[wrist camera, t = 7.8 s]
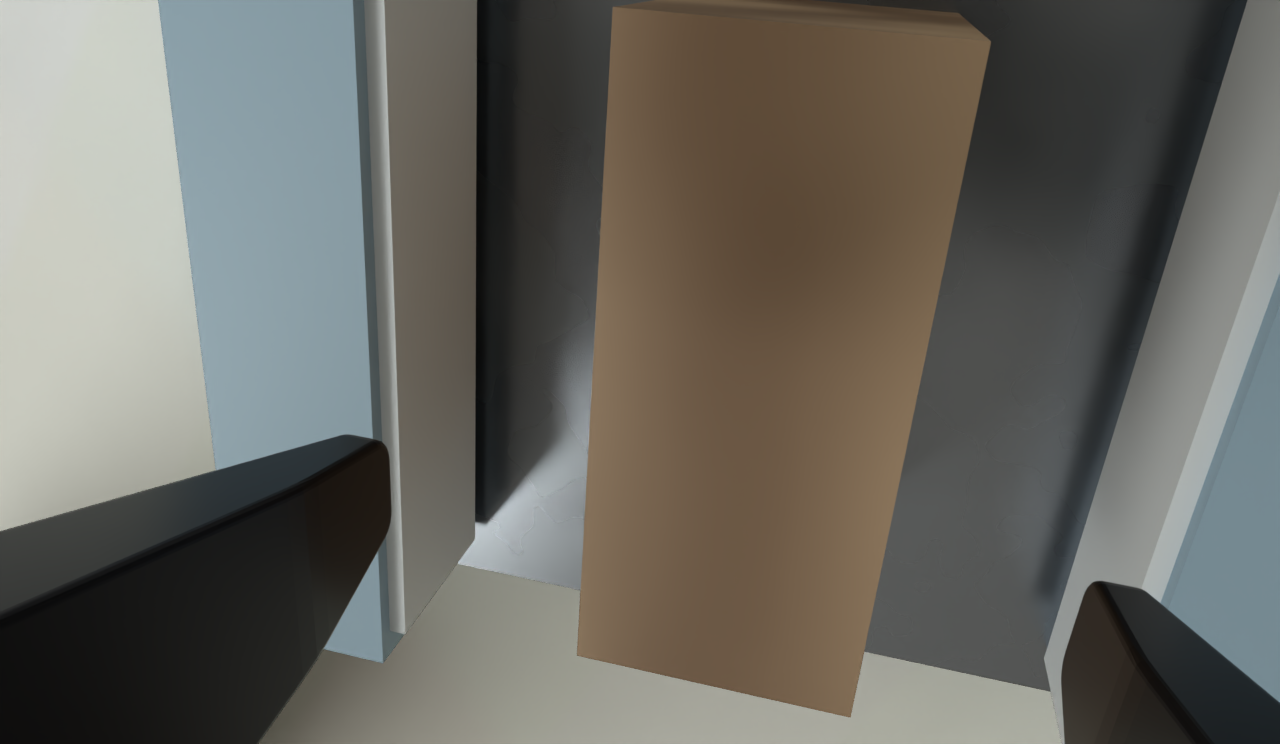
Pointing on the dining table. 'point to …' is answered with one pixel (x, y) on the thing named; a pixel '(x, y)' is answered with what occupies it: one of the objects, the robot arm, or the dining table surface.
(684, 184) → the walnut block
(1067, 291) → the vise bed
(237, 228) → the moving jaw
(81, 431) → the dining table surface
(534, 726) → the dining table surface
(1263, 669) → the block
